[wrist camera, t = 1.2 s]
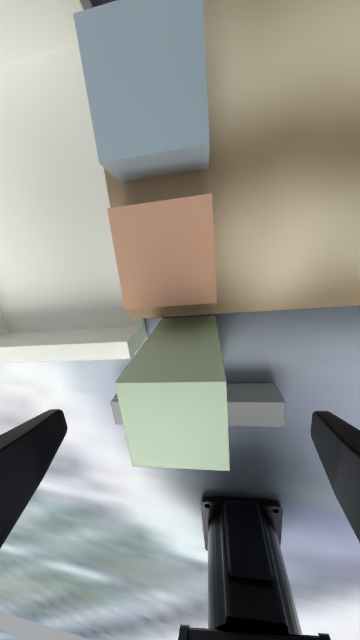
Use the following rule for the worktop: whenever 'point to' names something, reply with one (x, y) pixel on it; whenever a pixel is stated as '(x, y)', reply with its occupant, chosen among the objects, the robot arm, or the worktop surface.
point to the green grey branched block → (187, 399)
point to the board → (275, 157)
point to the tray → (54, 199)
